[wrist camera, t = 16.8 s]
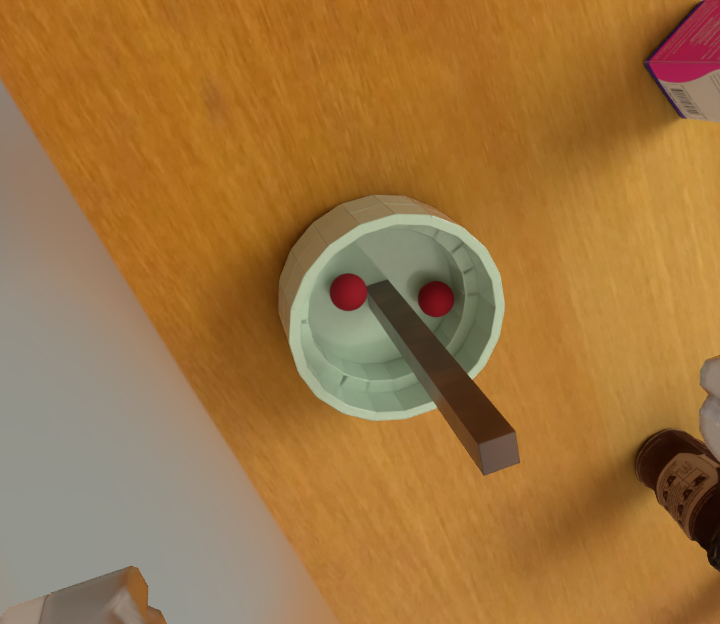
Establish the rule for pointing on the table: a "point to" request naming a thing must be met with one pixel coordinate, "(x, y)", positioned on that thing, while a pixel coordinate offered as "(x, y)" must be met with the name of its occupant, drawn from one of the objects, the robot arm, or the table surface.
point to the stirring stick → (446, 382)
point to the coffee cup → (685, 485)
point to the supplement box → (691, 64)
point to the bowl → (360, 327)
